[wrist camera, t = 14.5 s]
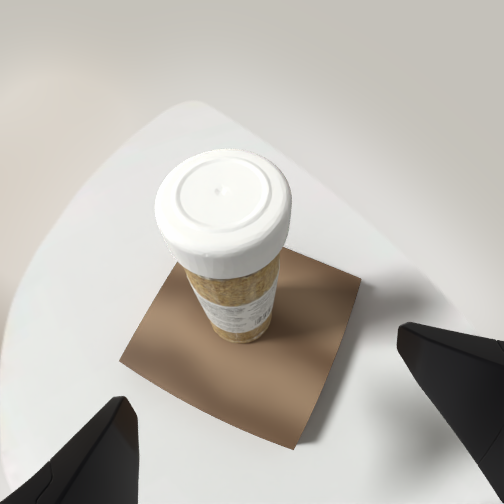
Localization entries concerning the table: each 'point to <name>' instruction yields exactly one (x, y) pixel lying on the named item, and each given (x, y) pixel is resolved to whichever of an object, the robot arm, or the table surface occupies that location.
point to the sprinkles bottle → (228, 235)
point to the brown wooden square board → (249, 350)
